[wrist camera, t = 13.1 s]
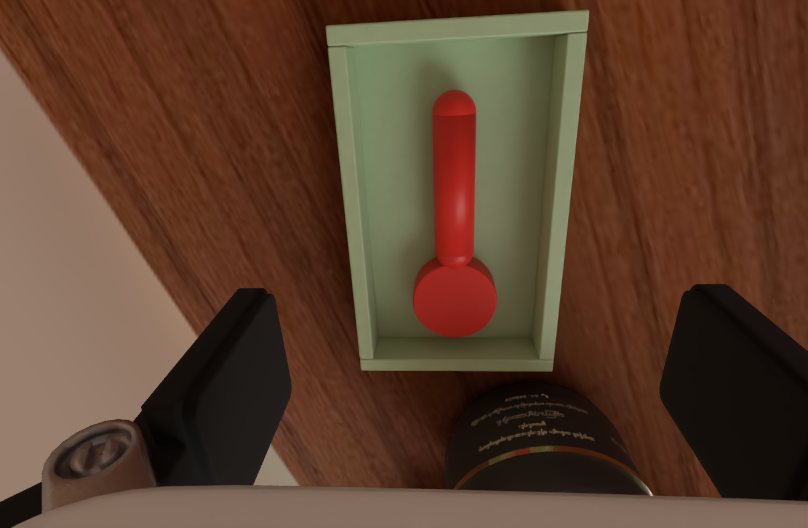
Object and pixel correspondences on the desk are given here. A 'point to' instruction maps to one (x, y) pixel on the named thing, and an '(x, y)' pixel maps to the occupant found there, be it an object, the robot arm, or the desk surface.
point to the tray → (494, 176)
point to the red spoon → (454, 229)
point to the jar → (539, 445)
